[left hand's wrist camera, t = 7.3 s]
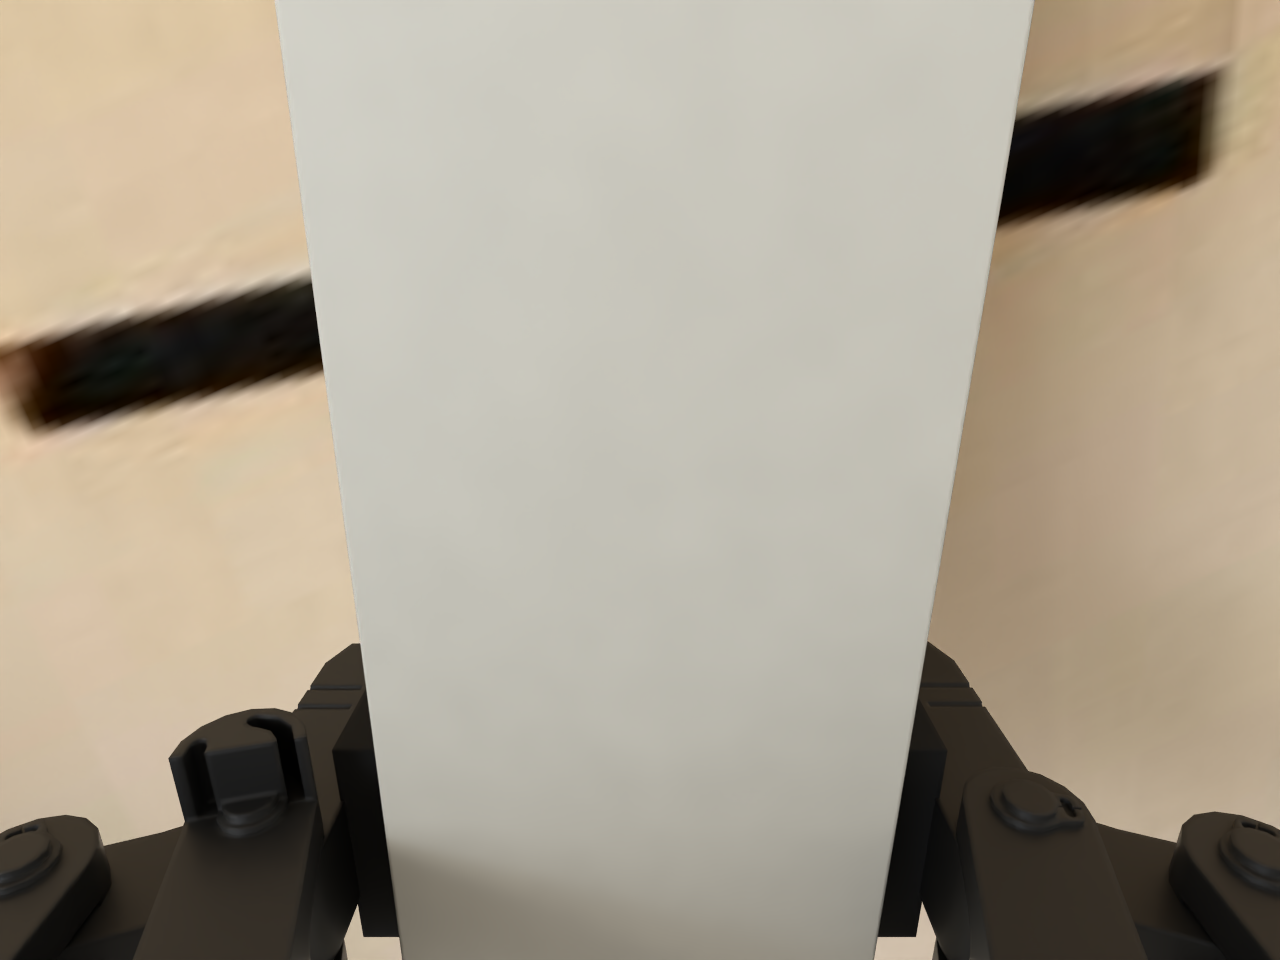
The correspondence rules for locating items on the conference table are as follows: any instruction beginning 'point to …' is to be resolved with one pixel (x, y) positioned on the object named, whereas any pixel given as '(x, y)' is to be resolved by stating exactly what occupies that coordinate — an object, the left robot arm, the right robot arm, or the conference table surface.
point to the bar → (647, 442)
